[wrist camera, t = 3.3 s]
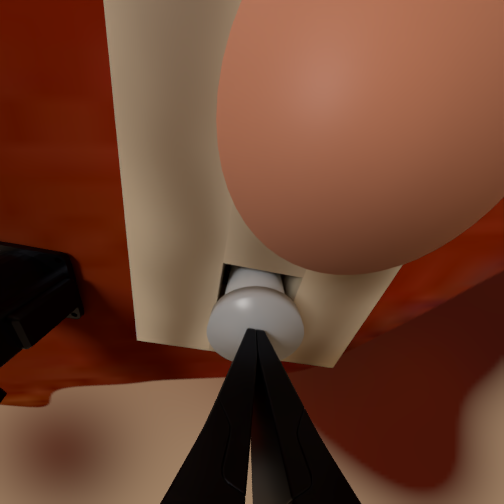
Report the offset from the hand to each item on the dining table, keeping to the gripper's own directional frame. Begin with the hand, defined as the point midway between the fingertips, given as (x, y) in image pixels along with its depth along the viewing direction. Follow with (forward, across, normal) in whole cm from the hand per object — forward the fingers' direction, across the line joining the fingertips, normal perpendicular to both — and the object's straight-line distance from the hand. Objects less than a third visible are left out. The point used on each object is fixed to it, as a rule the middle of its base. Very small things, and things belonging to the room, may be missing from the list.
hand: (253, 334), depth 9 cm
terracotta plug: (+3, 0, -8) cm, 8 cm away
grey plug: (+6, 0, 0) cm, 6 cm away
